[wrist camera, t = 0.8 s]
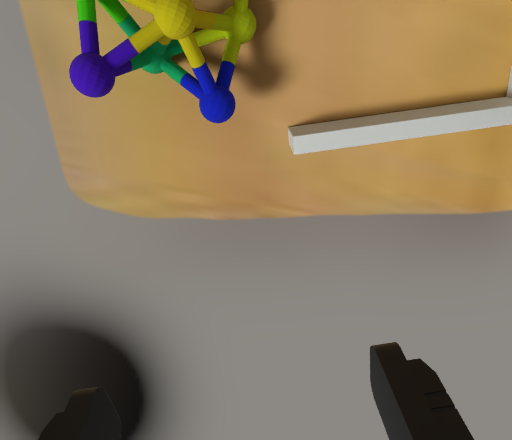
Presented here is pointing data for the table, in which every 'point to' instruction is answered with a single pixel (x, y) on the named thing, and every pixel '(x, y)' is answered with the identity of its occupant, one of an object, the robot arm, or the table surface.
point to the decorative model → (164, 49)
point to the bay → (402, 124)
